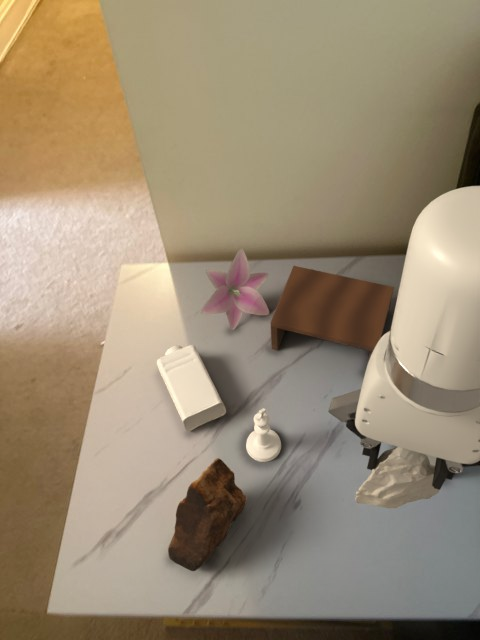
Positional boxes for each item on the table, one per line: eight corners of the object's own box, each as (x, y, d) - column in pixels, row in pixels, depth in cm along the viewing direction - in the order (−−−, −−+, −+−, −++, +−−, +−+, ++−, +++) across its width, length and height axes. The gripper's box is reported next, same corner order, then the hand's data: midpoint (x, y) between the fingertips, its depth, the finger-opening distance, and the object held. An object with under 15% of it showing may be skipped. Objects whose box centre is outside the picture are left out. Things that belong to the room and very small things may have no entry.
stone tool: (356, 519, 59) (371, 464, 47) (350, 491, 61) (363, 431, 49) (437, 510, 59) (473, 452, 47) (429, 482, 61) (461, 419, 49)
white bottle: (194, 350, 90) (190, 334, 87) (226, 414, 83) (224, 400, 79) (156, 366, 89) (151, 351, 85) (186, 433, 81) (181, 419, 78)
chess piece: (287, 439, 80) (287, 404, 72) (270, 468, 77) (268, 435, 69) (257, 423, 81) (253, 388, 73) (239, 452, 79) (234, 418, 71)
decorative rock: (220, 479, 77) (212, 445, 68) (256, 505, 74) (252, 473, 66) (162, 554, 71) (145, 527, 63) (199, 584, 69) (186, 561, 60)
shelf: (387, 314, 92) (394, 286, 86) (372, 374, 85) (378, 348, 79) (293, 293, 96) (293, 265, 90) (271, 349, 89) (270, 322, 84)
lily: (193, 334, 93) (206, 319, 84) (191, 267, 96) (203, 246, 87) (261, 335, 97) (281, 321, 88) (257, 270, 100) (276, 250, 91)
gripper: (584, 341, 38) (506, 454, 52) (332, 289, 42) (325, 406, 57) (583, 441, 33) (499, 533, 48) (305, 371, 38) (305, 474, 53)
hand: (405, 463), depth 52 cm, fingers closed on stone tool, 5 cm apart
